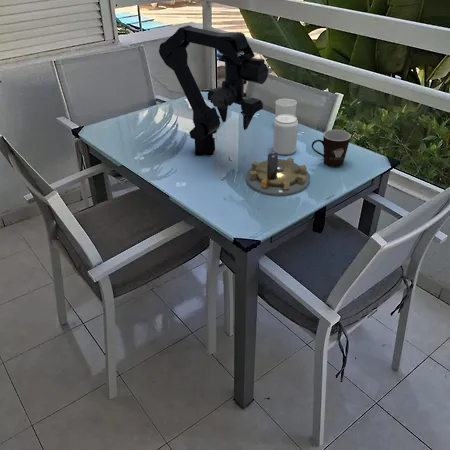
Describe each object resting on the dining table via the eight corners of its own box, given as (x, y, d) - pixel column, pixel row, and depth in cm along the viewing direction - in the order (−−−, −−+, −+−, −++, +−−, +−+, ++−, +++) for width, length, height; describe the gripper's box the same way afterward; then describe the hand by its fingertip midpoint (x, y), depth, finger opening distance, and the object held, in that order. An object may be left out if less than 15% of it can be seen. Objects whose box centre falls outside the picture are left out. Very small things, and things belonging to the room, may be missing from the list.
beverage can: (295, 156, 163) (297, 123, 156) (271, 155, 164) (272, 122, 158) (296, 146, 170) (299, 114, 163) (274, 144, 171) (275, 113, 164)
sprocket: (250, 190, 143) (250, 162, 137) (248, 162, 157) (248, 135, 152) (310, 189, 142) (313, 161, 137) (303, 161, 157) (305, 134, 152)
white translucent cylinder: (272, 123, 186) (273, 98, 180) (292, 122, 187) (294, 97, 181) (276, 132, 180) (277, 106, 174) (296, 130, 180) (298, 105, 175)
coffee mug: (348, 158, 161) (352, 131, 155) (344, 170, 154) (348, 142, 149) (313, 154, 164) (316, 127, 159) (309, 165, 158) (311, 137, 152)
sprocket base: (246, 196, 143) (247, 192, 142) (245, 164, 159) (245, 161, 158) (314, 195, 142) (314, 191, 142) (305, 163, 159) (305, 160, 158)
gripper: (193, 77, 145) (196, 125, 154) (239, 91, 134) (239, 142, 144) (219, 68, 152) (220, 115, 161) (264, 81, 141) (263, 130, 150)
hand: (234, 125), depth 154 cm, fingers open, 9 cm apart
